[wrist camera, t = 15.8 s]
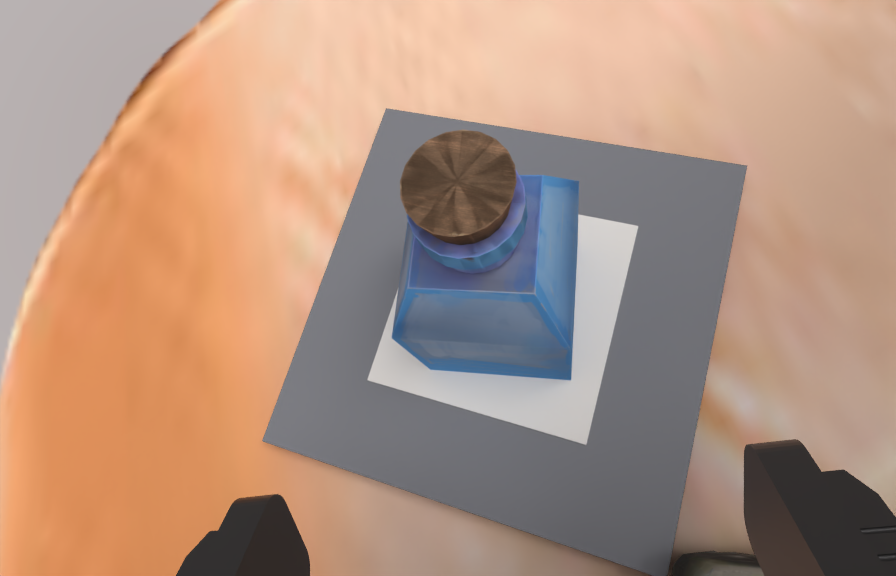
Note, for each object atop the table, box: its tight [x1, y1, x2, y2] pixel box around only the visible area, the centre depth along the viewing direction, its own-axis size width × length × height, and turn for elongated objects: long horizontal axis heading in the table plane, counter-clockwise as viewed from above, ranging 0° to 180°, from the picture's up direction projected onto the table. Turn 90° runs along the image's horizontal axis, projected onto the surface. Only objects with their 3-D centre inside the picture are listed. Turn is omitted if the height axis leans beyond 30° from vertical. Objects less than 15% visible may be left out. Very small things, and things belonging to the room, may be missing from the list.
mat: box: [262, 108, 747, 576], centre depth 28 cm, size 18×18×1 cm
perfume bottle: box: [392, 130, 579, 380], centre depth 21 cm, size 6×6×12 cm
